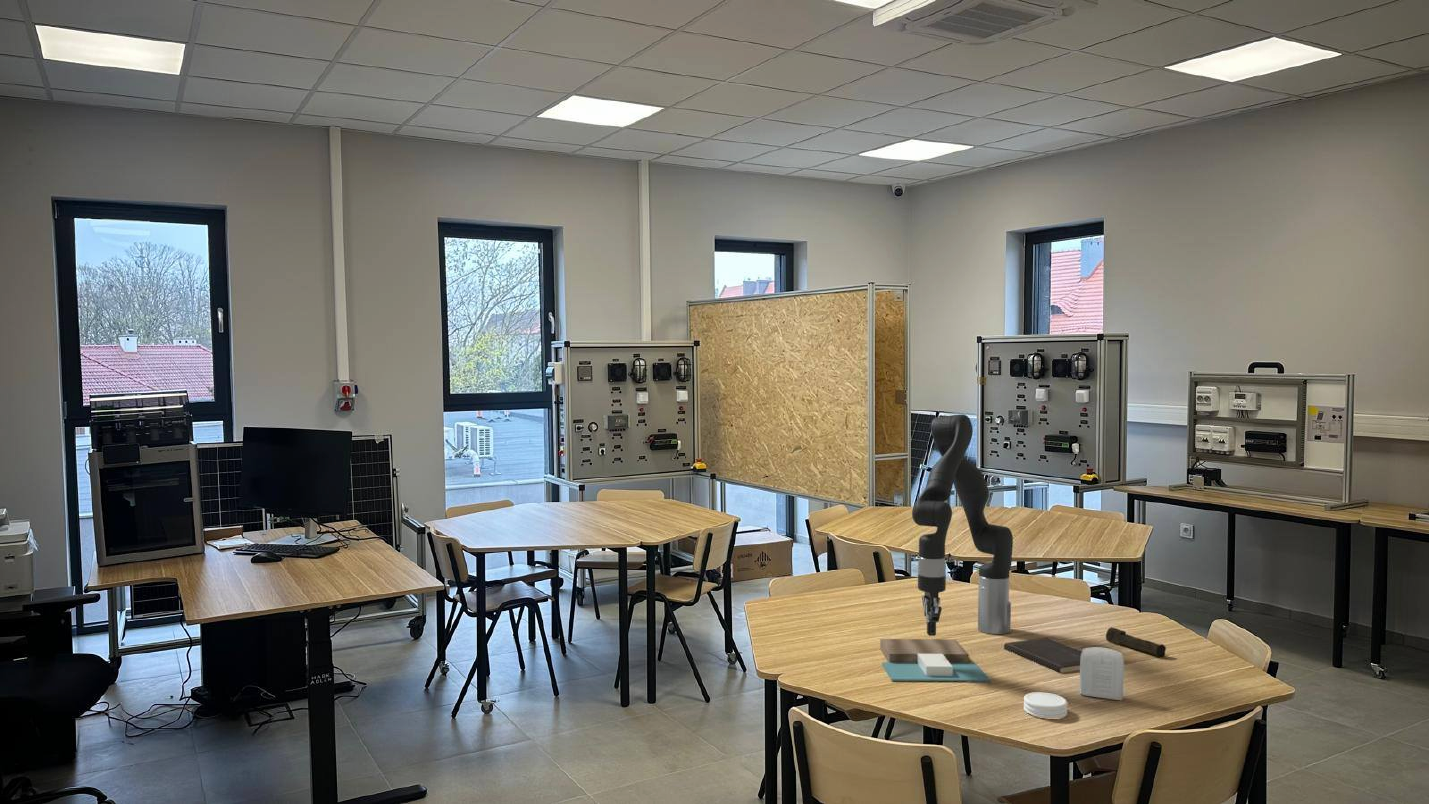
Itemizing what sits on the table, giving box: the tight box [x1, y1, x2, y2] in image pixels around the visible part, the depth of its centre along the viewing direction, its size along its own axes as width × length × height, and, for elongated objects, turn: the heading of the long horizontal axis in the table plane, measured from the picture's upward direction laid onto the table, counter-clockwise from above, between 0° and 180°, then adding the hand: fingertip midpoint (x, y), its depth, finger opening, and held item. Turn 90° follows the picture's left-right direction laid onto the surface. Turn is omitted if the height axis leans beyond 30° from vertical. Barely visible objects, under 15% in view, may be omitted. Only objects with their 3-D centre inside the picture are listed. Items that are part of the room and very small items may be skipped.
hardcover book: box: [1003, 637, 1083, 674], centre depth 267 cm, size 16×23×2 cm
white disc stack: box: [1023, 691, 1069, 719], centre depth 225 cm, size 10×10×4 cm
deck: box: [879, 638, 970, 663], centre depth 267 cm, size 22×14×3 cm, turn 90°
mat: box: [881, 661, 991, 683], centre depth 253 cm, size 26×14×1 cm, turn 90°
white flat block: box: [917, 654, 953, 676], centre depth 254 cm, size 7×11×2 cm, turn 0°
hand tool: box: [1105, 627, 1167, 659], centre depth 276 cm, size 19×4×5 cm, turn 26°
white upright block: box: [1078, 646, 1125, 701], centre depth 235 cm, size 10×4×12 cm, turn 69°
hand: (931, 634), depth 258 cm, fingers closed
